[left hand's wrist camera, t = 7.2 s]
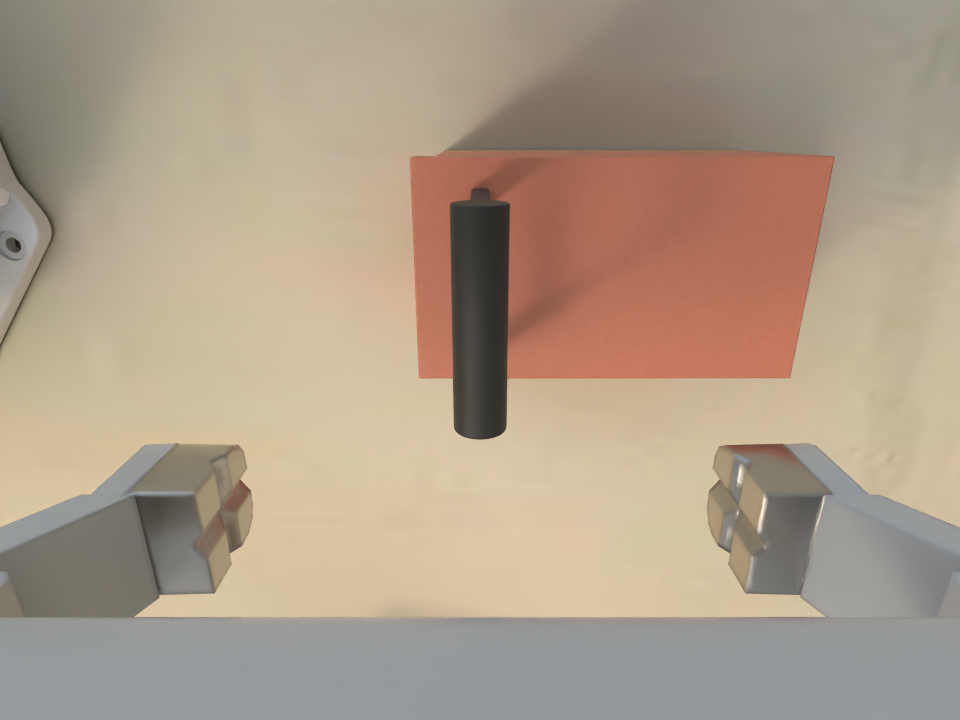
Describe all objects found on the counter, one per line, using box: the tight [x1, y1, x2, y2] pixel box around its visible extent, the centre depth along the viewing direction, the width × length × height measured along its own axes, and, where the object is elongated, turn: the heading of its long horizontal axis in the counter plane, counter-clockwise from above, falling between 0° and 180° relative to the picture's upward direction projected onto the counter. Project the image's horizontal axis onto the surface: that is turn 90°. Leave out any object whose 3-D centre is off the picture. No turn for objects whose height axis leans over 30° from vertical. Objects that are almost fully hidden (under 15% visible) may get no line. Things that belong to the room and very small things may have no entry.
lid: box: [410, 156, 834, 439], centre depth 22 cm, size 17×10×9 cm, turn 90°
